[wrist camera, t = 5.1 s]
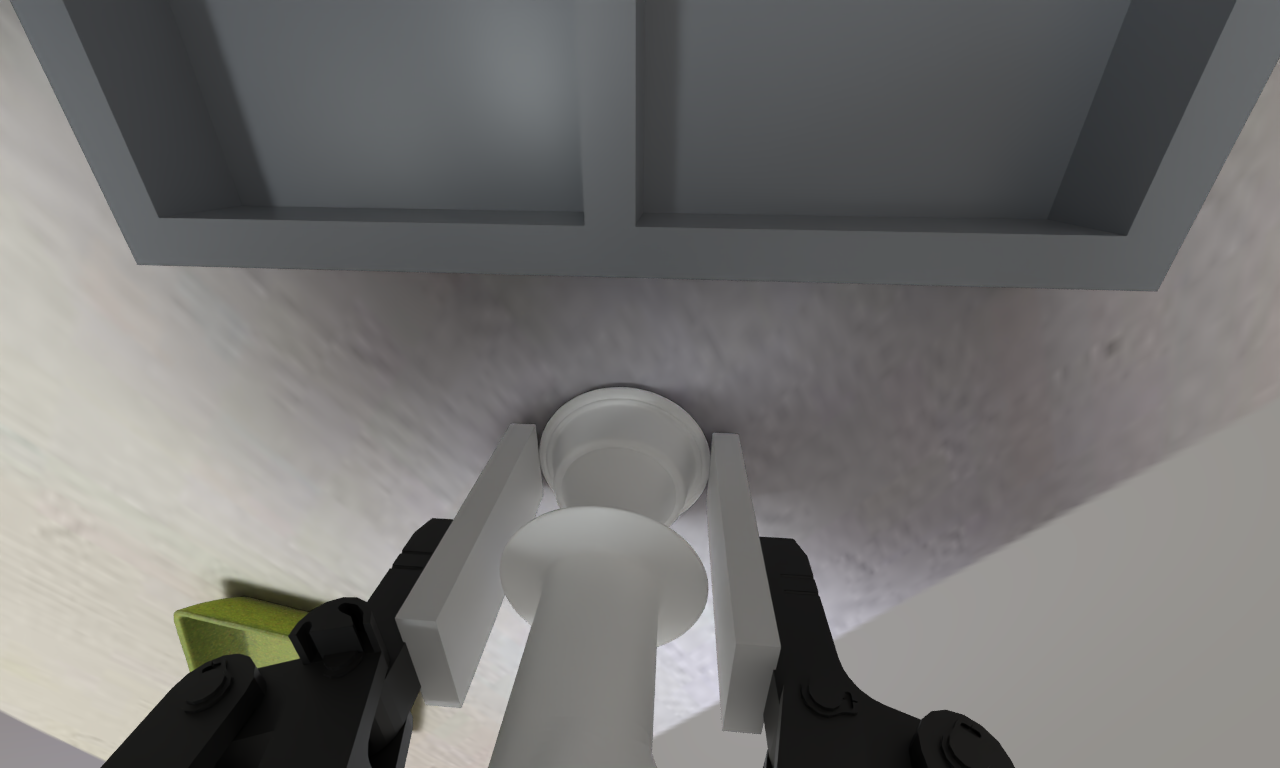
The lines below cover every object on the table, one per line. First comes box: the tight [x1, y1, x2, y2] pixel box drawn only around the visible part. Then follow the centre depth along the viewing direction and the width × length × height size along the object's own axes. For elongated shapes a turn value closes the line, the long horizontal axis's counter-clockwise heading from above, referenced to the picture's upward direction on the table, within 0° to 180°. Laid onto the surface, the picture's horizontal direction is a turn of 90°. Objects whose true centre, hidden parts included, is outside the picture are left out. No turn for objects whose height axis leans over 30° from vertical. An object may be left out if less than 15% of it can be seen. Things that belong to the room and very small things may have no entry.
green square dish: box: [174, 597, 309, 672], centre depth 21 cm, size 9×9×2 cm
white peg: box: [488, 387, 710, 768], centre depth 9 cm, size 5×5×12 cm
